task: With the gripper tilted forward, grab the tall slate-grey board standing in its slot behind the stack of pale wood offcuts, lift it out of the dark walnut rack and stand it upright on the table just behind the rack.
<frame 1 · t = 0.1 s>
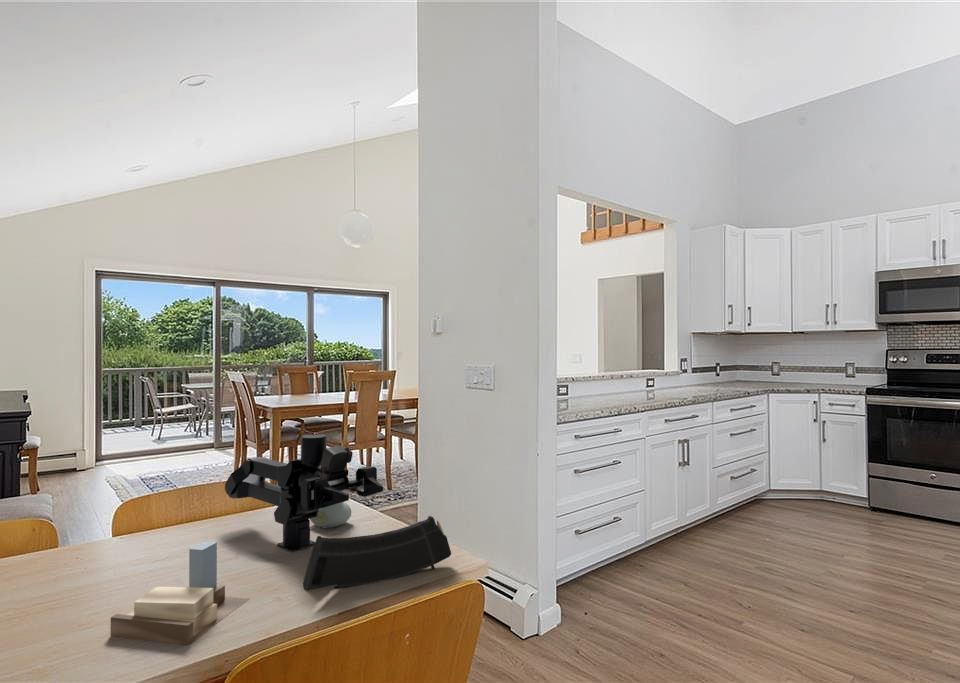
hand: (365, 493, 120), 17 cm above the table, tool horizontal, fingers open, 9 cm apart
walnut rack: (203, 609, 103), on the table
offcut stack: (172, 609, 96), point 4 cm above the table
air freshener: (330, 525, 152), on the table
magazine: (380, 579, 117), on the table
tall board: (203, 603, 103), point 1 cm above the table, touching walnut rack
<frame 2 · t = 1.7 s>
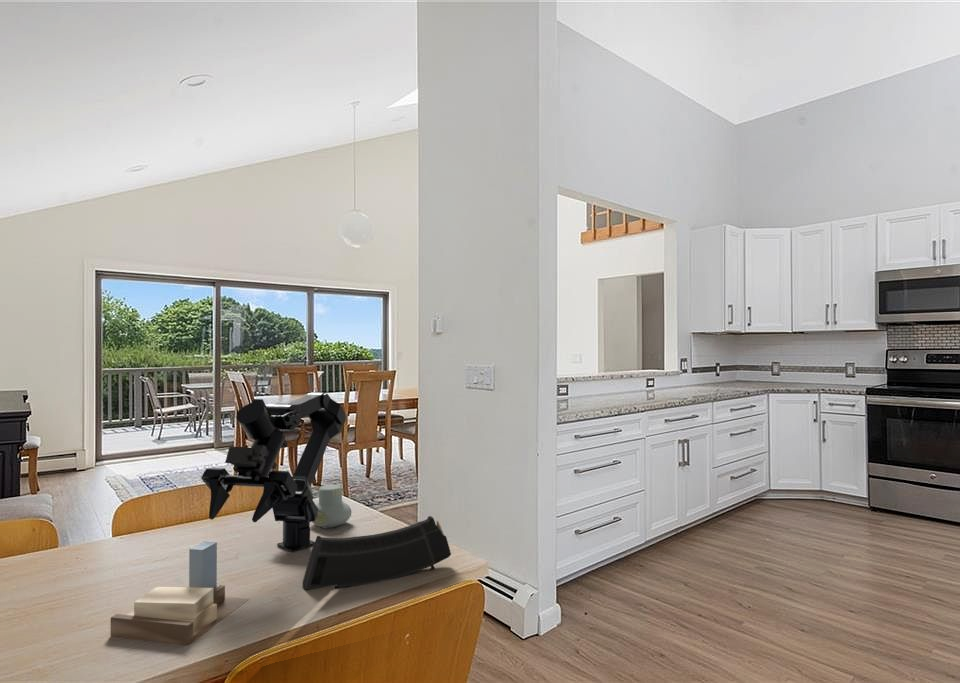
hand: (231, 520, 111), 14 cm above the table, tool tilted 45°, fingers open, 9 cm apart
nothing on the table moved.
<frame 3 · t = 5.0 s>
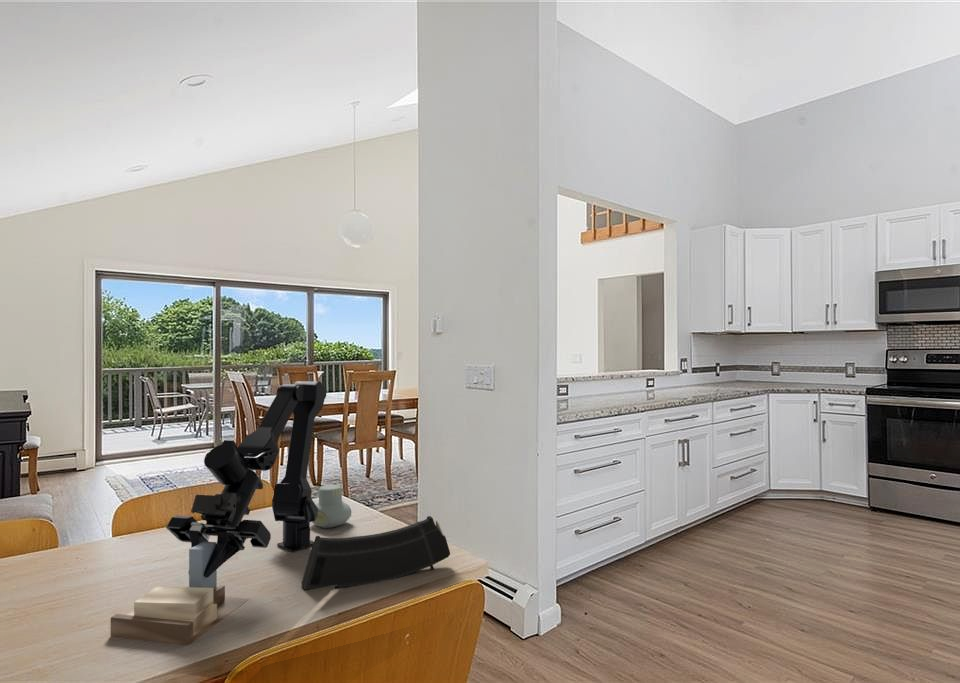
hand: (197, 576, 102), 7 cm above the table, tool tilted 45°, fingers closed on tall board, 3 cm apart
tall board: (203, 603, 103), point 1 cm above the table, touching gripper, walnut rack
everything else where it was.
when the fingers open (7 cm above the table, at t = 9.2 s): tall board stays where it is, on the table.
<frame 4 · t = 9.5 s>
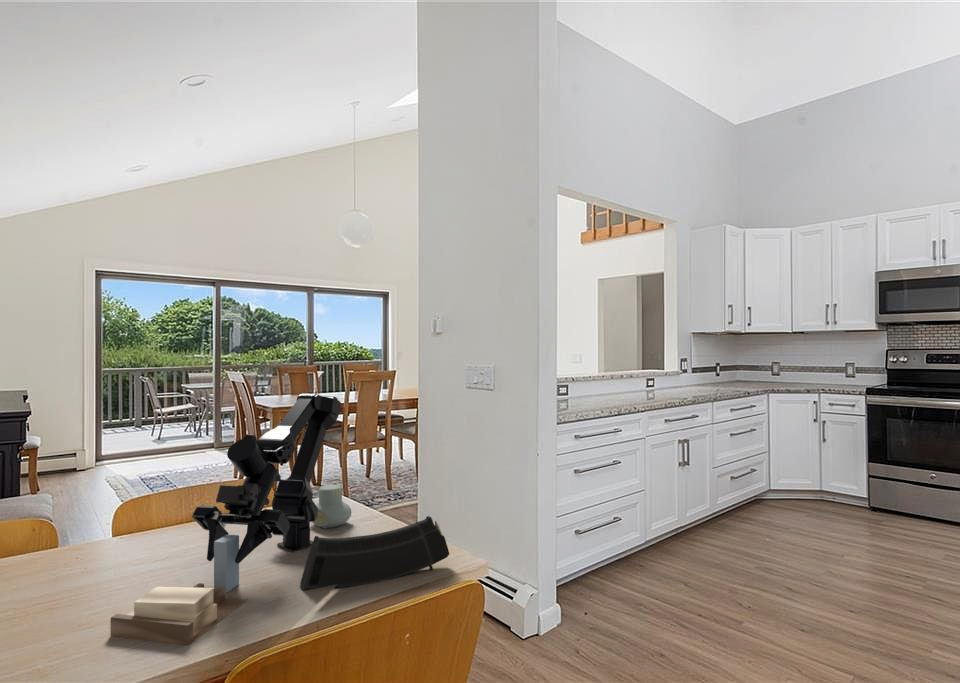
hand: (222, 561, 109), 7 cm above the table, tool tilted 45°, fingers open, 6 cm apart
tall board: (226, 592, 110), on the table
everything else where it was.
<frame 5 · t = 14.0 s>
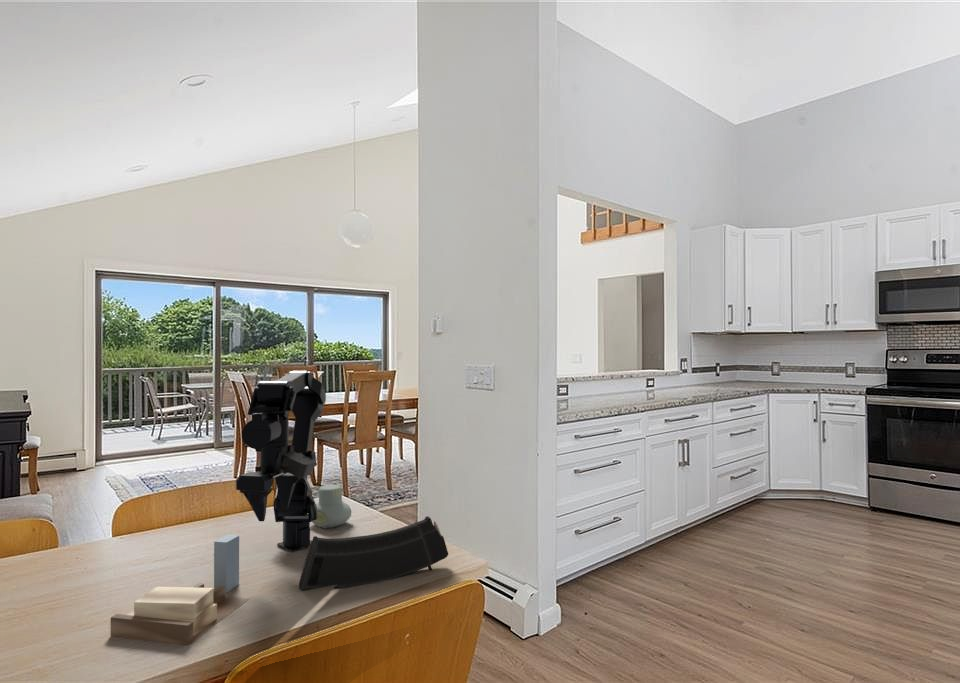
hand: (273, 514, 121), 12 cm above the table, tool pointing down, fingers open, 9 cm apart
nothing on the table moved.
at the end: tall board inside the target area (0.3 cm from its centre), on the table; tall board tilted 0°; the gripper is holding nothing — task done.
